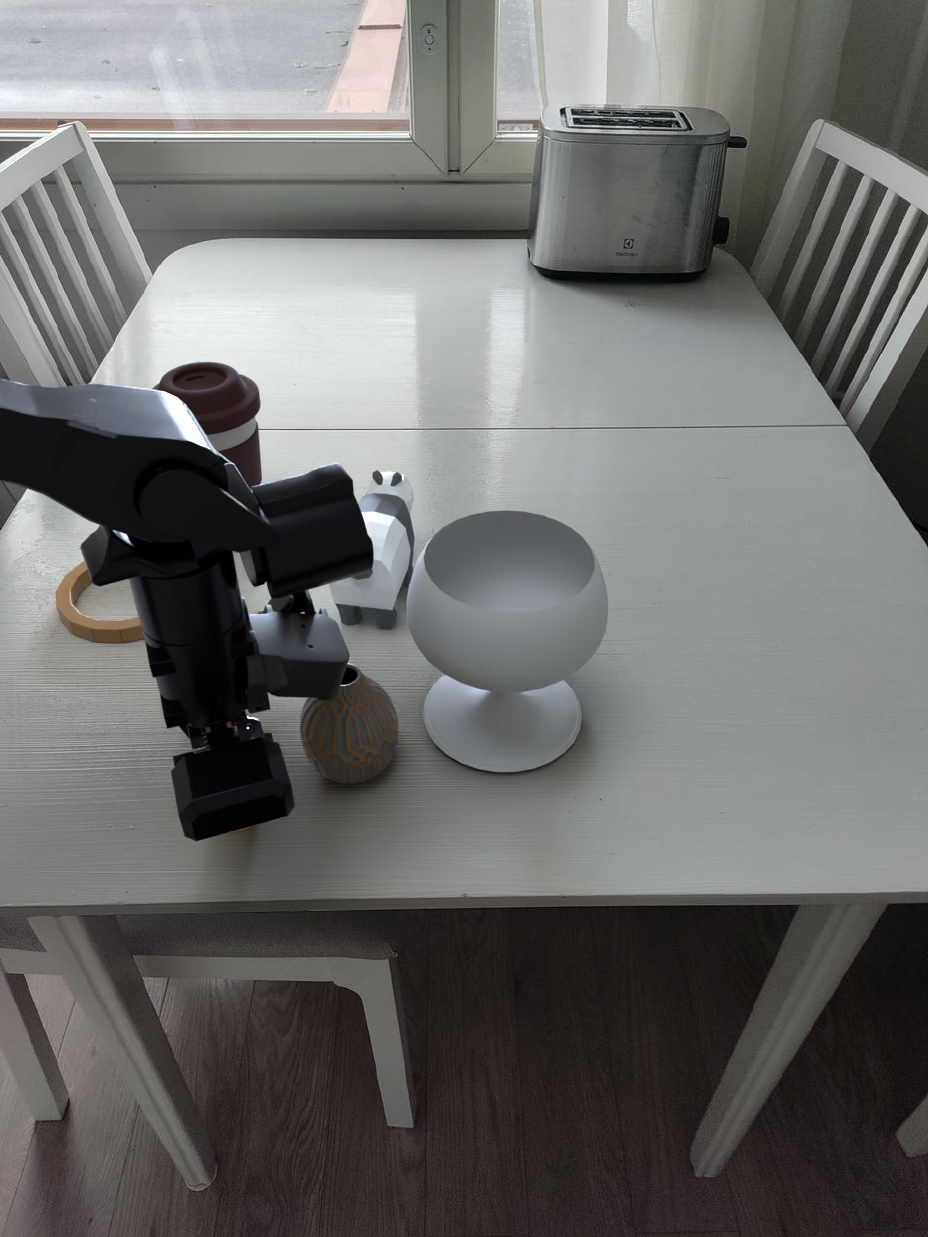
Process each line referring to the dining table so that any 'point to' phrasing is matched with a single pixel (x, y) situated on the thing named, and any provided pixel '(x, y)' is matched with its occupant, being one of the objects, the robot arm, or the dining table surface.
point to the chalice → (506, 635)
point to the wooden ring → (88, 625)
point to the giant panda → (381, 552)
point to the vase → (350, 730)
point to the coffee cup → (221, 411)
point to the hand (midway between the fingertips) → (233, 791)
